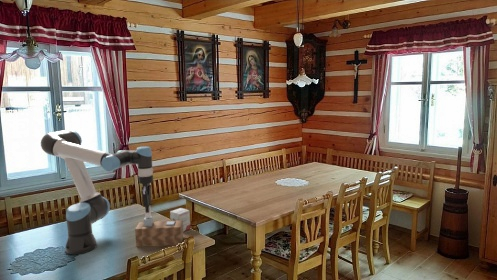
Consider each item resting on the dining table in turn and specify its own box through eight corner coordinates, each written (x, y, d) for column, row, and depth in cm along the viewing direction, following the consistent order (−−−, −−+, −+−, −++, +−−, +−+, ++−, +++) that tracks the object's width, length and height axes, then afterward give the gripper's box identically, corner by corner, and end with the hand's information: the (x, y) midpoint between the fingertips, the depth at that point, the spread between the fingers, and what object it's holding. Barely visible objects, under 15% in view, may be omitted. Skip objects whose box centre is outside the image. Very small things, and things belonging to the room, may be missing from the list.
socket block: (136, 246, 188) (135, 228, 187) (140, 238, 198) (139, 222, 196) (181, 244, 190) (180, 227, 188) (183, 237, 199) (182, 220, 198)
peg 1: (144, 236, 191) (143, 219, 189) (146, 233, 195) (145, 216, 193) (151, 235, 191) (151, 219, 190) (153, 232, 195) (152, 216, 193)
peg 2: (167, 240, 192) (166, 224, 191) (168, 237, 196) (167, 221, 194) (174, 240, 192) (173, 224, 191) (175, 237, 196) (174, 221, 195)
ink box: (181, 225, 217) (180, 207, 215) (190, 228, 212) (190, 209, 210) (170, 229, 211) (169, 210, 209) (179, 233, 205) (178, 213, 203)
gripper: (150, 178, 182) (152, 221, 185) (155, 172, 195) (157, 213, 198) (135, 178, 181) (138, 222, 185) (141, 172, 194) (144, 213, 198)
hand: (148, 217), depth 191 cm, fingers closed
